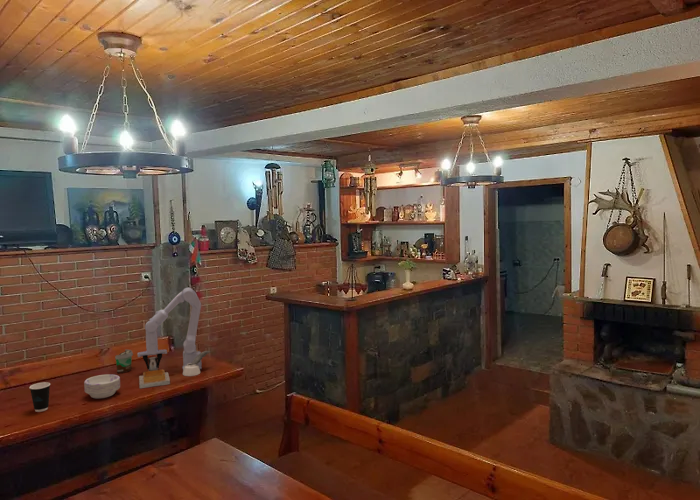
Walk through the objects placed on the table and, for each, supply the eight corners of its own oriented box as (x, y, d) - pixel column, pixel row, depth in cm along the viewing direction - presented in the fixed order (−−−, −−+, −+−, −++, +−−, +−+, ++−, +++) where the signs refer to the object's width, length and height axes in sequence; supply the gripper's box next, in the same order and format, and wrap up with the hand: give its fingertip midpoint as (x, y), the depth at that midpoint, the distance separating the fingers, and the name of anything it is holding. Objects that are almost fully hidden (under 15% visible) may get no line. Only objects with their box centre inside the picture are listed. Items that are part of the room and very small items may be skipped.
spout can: (157, 371, 274) (156, 356, 274) (158, 374, 268) (157, 359, 268) (148, 372, 273) (148, 357, 272) (149, 375, 267) (148, 360, 266)
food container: (127, 373, 270) (126, 355, 269) (116, 374, 270) (115, 355, 270) (137, 366, 283) (136, 349, 282) (126, 366, 283) (125, 349, 282)
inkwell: (178, 374, 268) (177, 356, 267) (204, 365, 283) (204, 347, 282) (190, 377, 263) (189, 358, 262) (216, 367, 278) (216, 350, 277)
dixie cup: (48, 404, 228) (47, 381, 228) (54, 409, 223) (52, 385, 222) (28, 410, 223) (26, 385, 222) (34, 414, 217) (32, 389, 216)
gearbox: (168, 375, 266) (167, 367, 266) (170, 384, 253) (169, 375, 253) (139, 379, 260) (138, 371, 260) (139, 388, 248) (139, 379, 247)
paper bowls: (127, 390, 245) (127, 374, 244) (104, 402, 230) (103, 385, 230) (101, 388, 249) (100, 372, 248) (77, 399, 234) (76, 382, 234)
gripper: (165, 340, 277) (167, 364, 278) (137, 343, 271) (138, 368, 272) (166, 343, 270) (167, 368, 271) (137, 346, 264) (138, 371, 266)
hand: (153, 368), depth 271 cm, fingers closed on spout can, 4 cm apart
